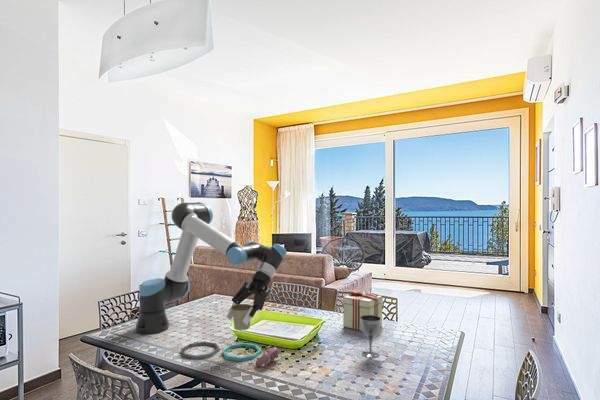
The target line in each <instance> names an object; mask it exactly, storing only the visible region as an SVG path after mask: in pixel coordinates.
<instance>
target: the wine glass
mask: <svg viewBox="0 0 600 400" xmlns="http://www.w3.org/2000/svg"><path fill="white" fill-rule="evenodd" d="M380 323H381V319H380V317H378V316H375V315H363V316H361V328H362V331H361V332H362V333H363V334H364V336H366V338H367V340H368V343H369V344H368V345H369V350H364V351H363V352H361V355H362V357H364V358H366V359H367V358H368V359H376V358H377V359H378V358H379V357H380V353H378V352H377V351H375V350H372V347H373V341H374V339H375V337H376V336H377V335H378V334H379V333H380V329H381V326H380Z"/></svg>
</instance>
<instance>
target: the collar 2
mask: <svg viewBox="0 0 600 400" xmlns="http://www.w3.org/2000/svg"><path fill="white" fill-rule="evenodd" d="M242 346H243V347H244V346H245V347H246V348H251V347H252V349H255V350H256V352H255V353H254V354H251V355H246V356H240V357H239V356H232V355H228V354H227V352H229V351H230V350H232V349H237V348H242ZM245 347H244V348H245ZM221 352H222V355H223V357H224V358H225V360H228V361H235V362H243V361H248V360H249V361H250V360H255V358H257V357H258V356H259V355H260V354H261V353H262V349H261V348H260V347H259V346H258V345H257V344H256V343H255V344H253V343H246V342H242V343H241V342H240V343H234V344H229V345H228V346H227V347H225V348H224V349H223V350H222V351H221Z"/></svg>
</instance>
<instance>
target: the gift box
mask: <svg viewBox="0 0 600 400" xmlns="http://www.w3.org/2000/svg"><path fill="white" fill-rule="evenodd" d="M348 293H349V294H348V295H346V296H343V297H342V304H343V308H342V309H343V312H342V313H343V319H342V320H343V321H342V322H343V324H342V325H343V328H347V329H352V330H356V331H360V332H363V331H362V328H361V316H363V315H375V316H378V317H380V319H381V323H380V327H382V326H383V305H382V304H383V302H384V298H383V295H380V294H379V295H378V294H376V293H374V292H367V293H365V292H361V291H359V290H356V289H352V290H350V291H348Z"/></svg>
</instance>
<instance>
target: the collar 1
mask: <svg viewBox="0 0 600 400" xmlns="http://www.w3.org/2000/svg"><path fill="white" fill-rule="evenodd" d="M200 346H209V347H214V348H215V350H213V351H211V352H210V353H205V354H198V355H194V354H189V353H185V351H187V350H189V349H190V348H193V347H200ZM180 350H181V351H180V353H181V355H182V357H183V359H185V358H186V359H190V360H202V359H207V358H213V357H214V356H215V355H216V354H218V353H220V350H221V349H220V346H219V345H218V343H217V342H210V341H205V340H204V341H200V342H193V343H189V344H186V346H184V347H182V348H181V349H180Z"/></svg>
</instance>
